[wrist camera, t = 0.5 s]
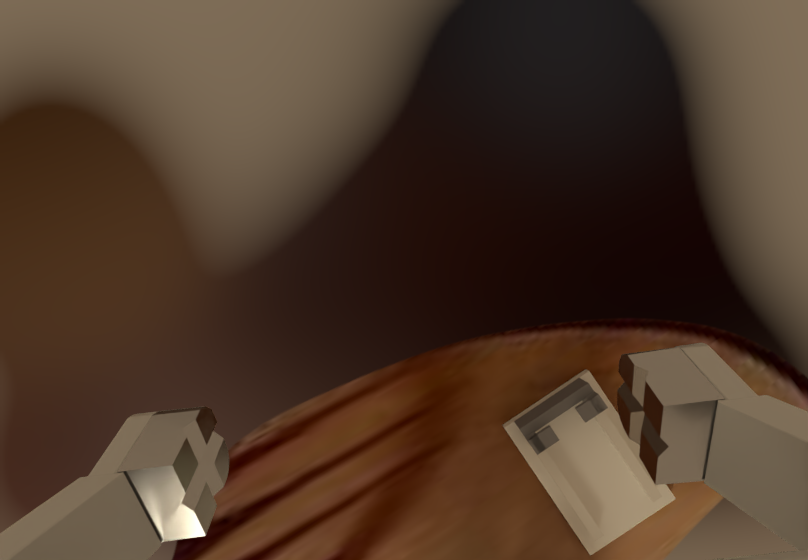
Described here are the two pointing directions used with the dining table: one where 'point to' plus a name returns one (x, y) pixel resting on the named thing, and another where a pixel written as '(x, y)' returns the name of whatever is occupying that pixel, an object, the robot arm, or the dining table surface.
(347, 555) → the dining table surface
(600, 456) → the beige shallow tray
